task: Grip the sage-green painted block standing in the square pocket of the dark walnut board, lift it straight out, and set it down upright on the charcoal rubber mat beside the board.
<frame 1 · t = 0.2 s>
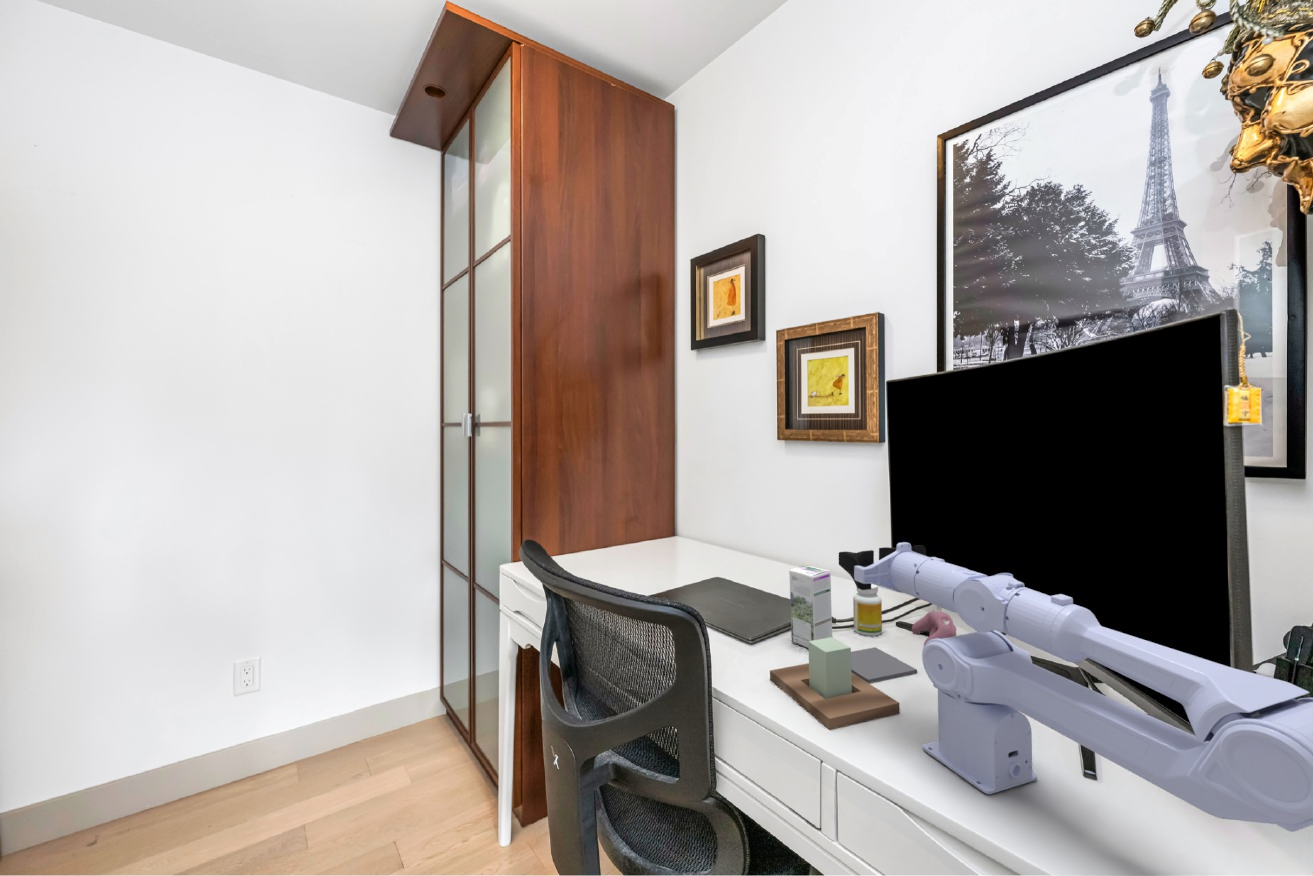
hand: (860, 556, 84), 21 cm above the table, tool horizontal, fingers open, 7 cm apart
charcoal mat: (872, 665, 93), on the table
syrup box: (811, 644, 103), on the table
video game controller: (934, 643, 102), on the table
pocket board: (830, 695, 83), on the table
sage block: (829, 669, 83), in the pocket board
supplement bottle: (867, 632, 108), on the table
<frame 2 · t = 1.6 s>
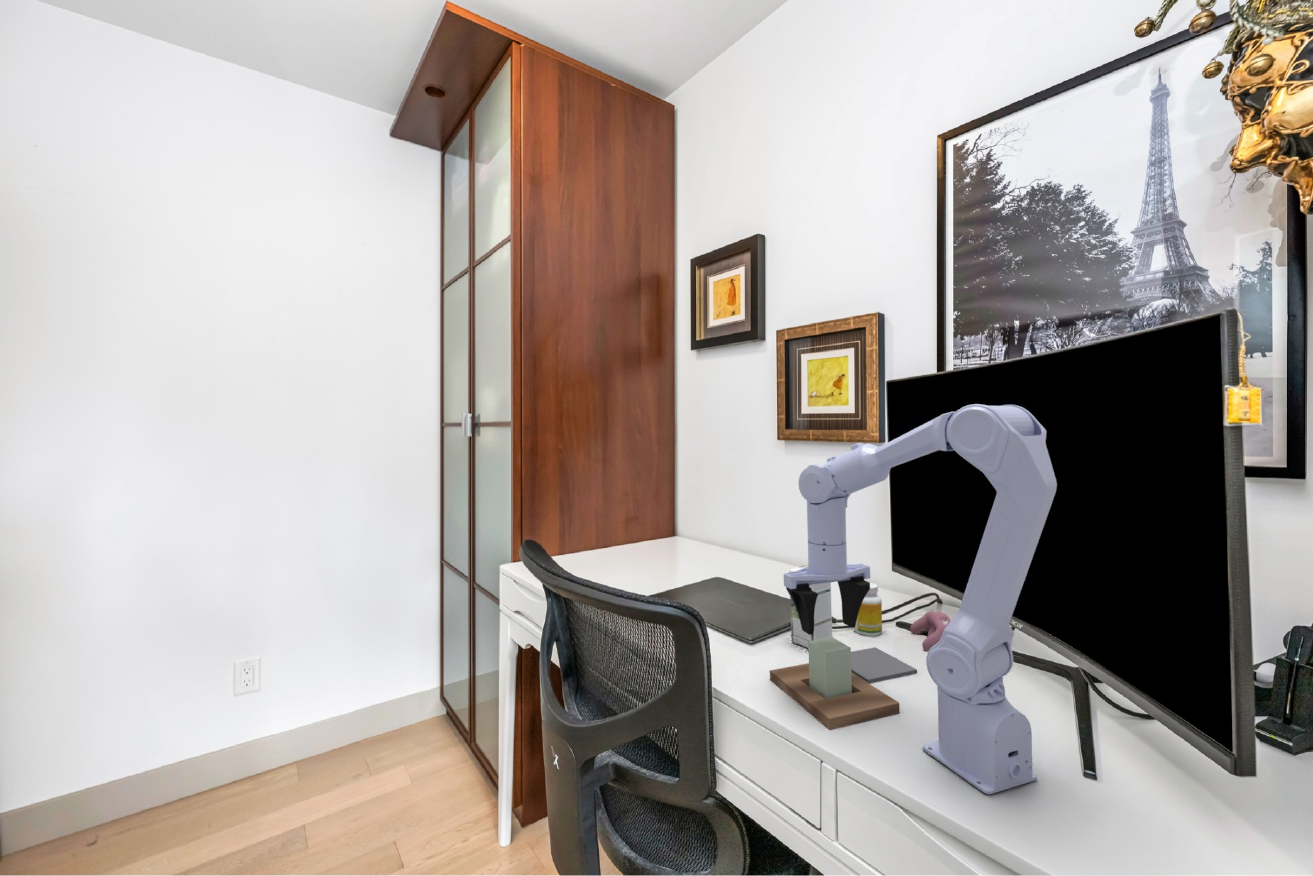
hand: (828, 628, 83), 10 cm above the table, tool pointing down, fingers open, 7 cm apart
nothing on the table moved.
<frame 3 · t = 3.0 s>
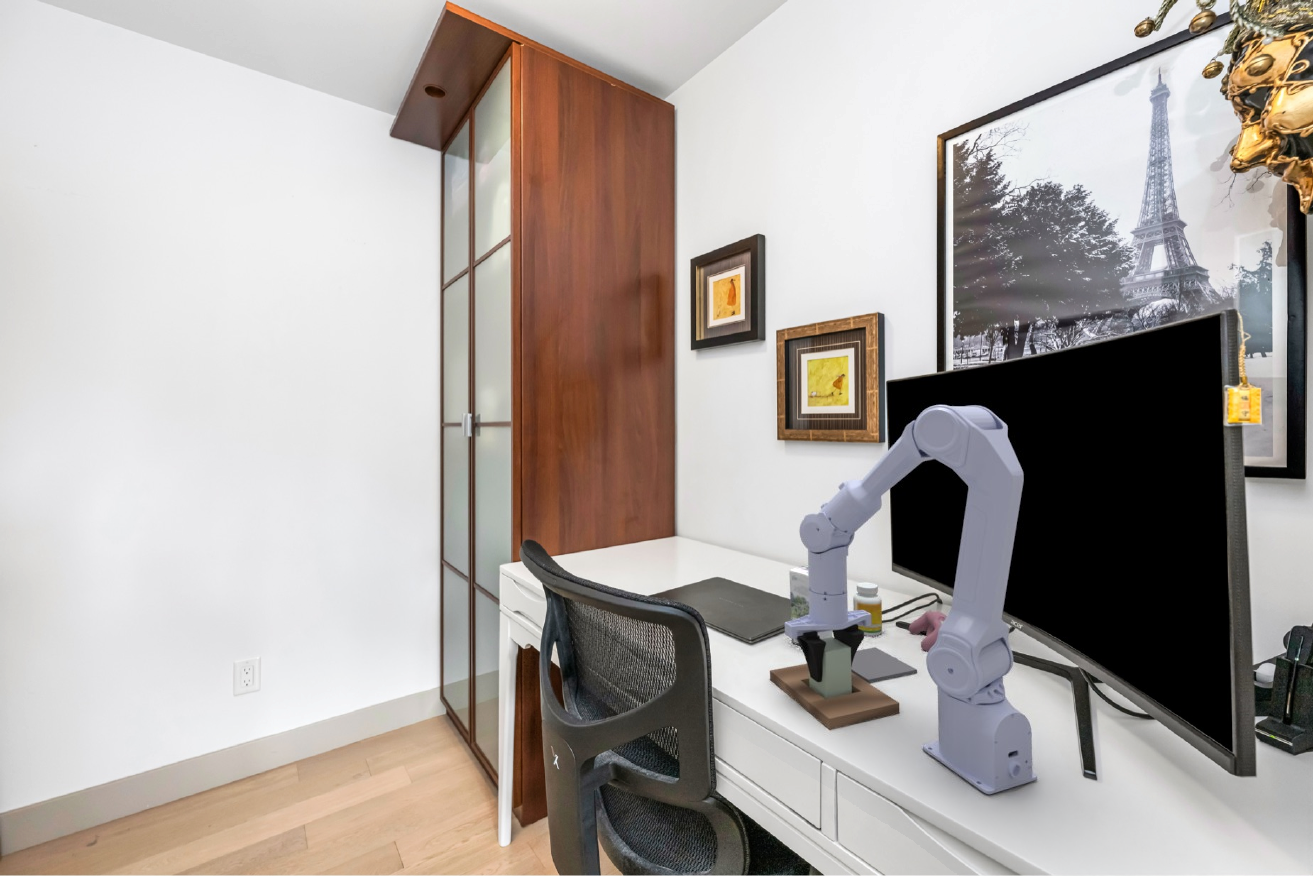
hand: (829, 676, 83), 3 cm above the table, tool pointing down, fingers closed on sage block, 4 cm apart
sage block: (829, 669, 83), in the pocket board, touching gripper
everything else where it was.
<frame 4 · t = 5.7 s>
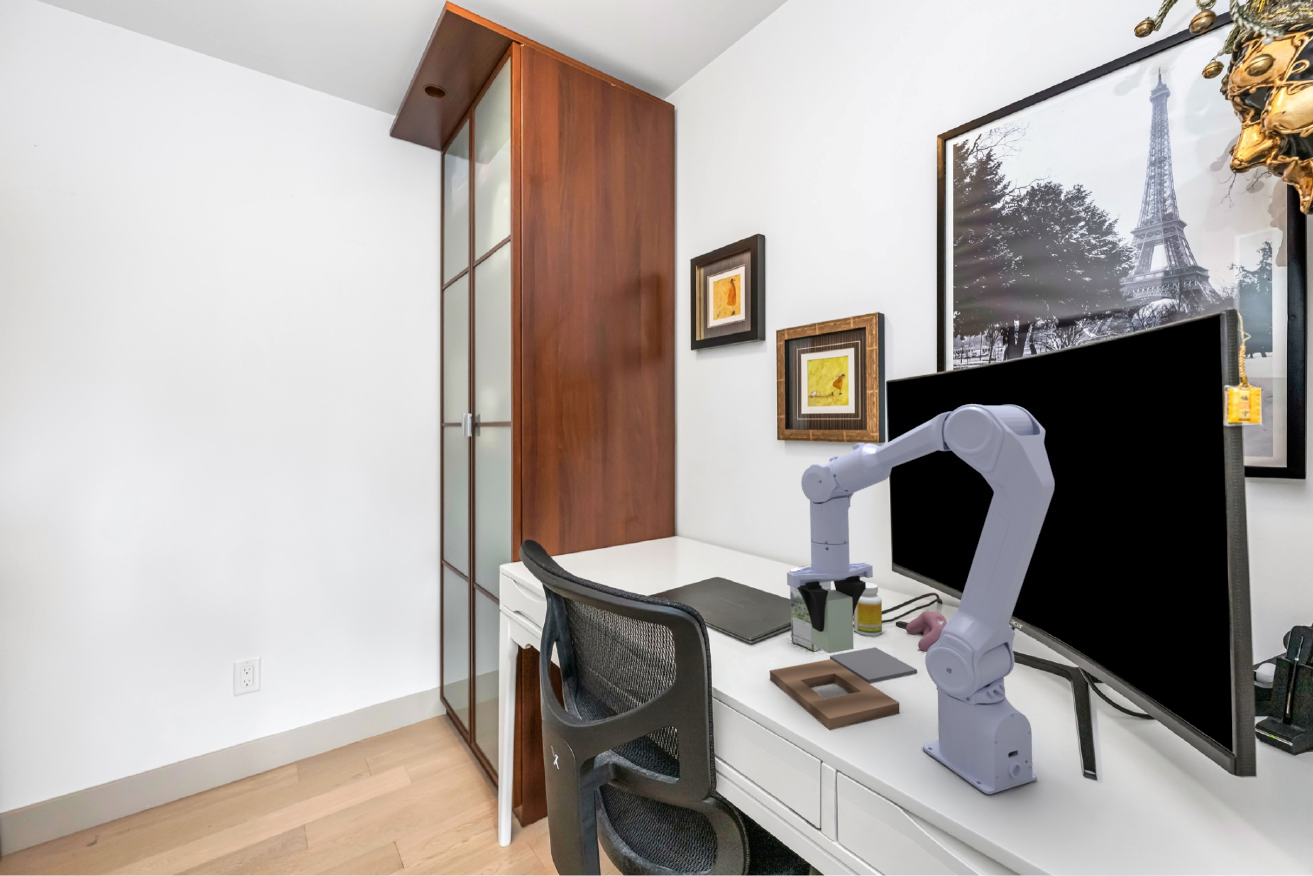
hand: (831, 627, 84), 10 cm above the table, tool pointing down, fingers closed on sage block, 4 cm apart
sage block: (831, 620, 83), point 12 cm above the table, touching gripper
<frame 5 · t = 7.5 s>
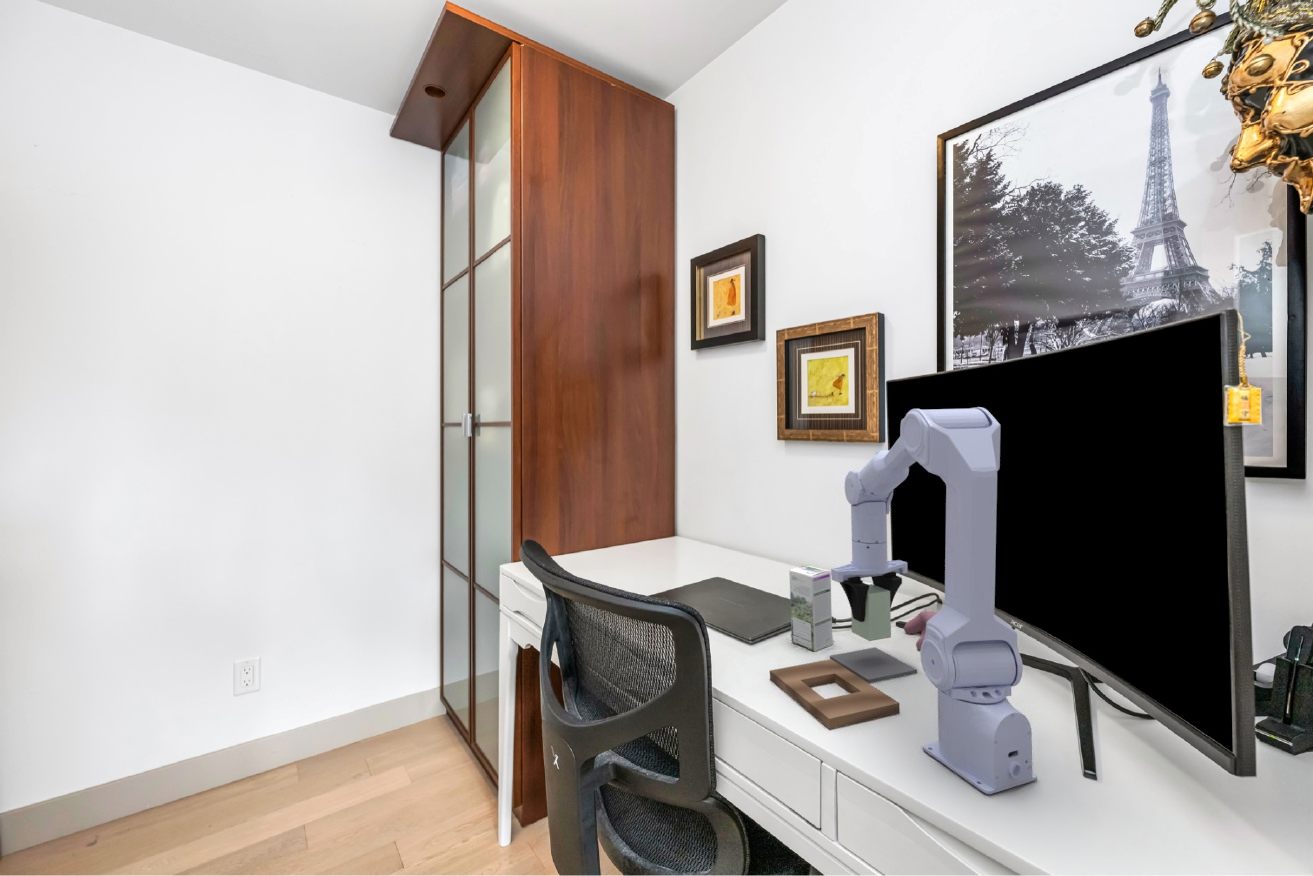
hand: (870, 618, 93), 8 cm above the table, tool pointing down, fingers closed on sage block, 4 cm apart
sage block: (870, 611, 93), point 9 cm above the table, touching gripper
when the fingers open (4 cm above the table, at t = 8.8 s): sage block stays where it is, resting on charcoal mat.
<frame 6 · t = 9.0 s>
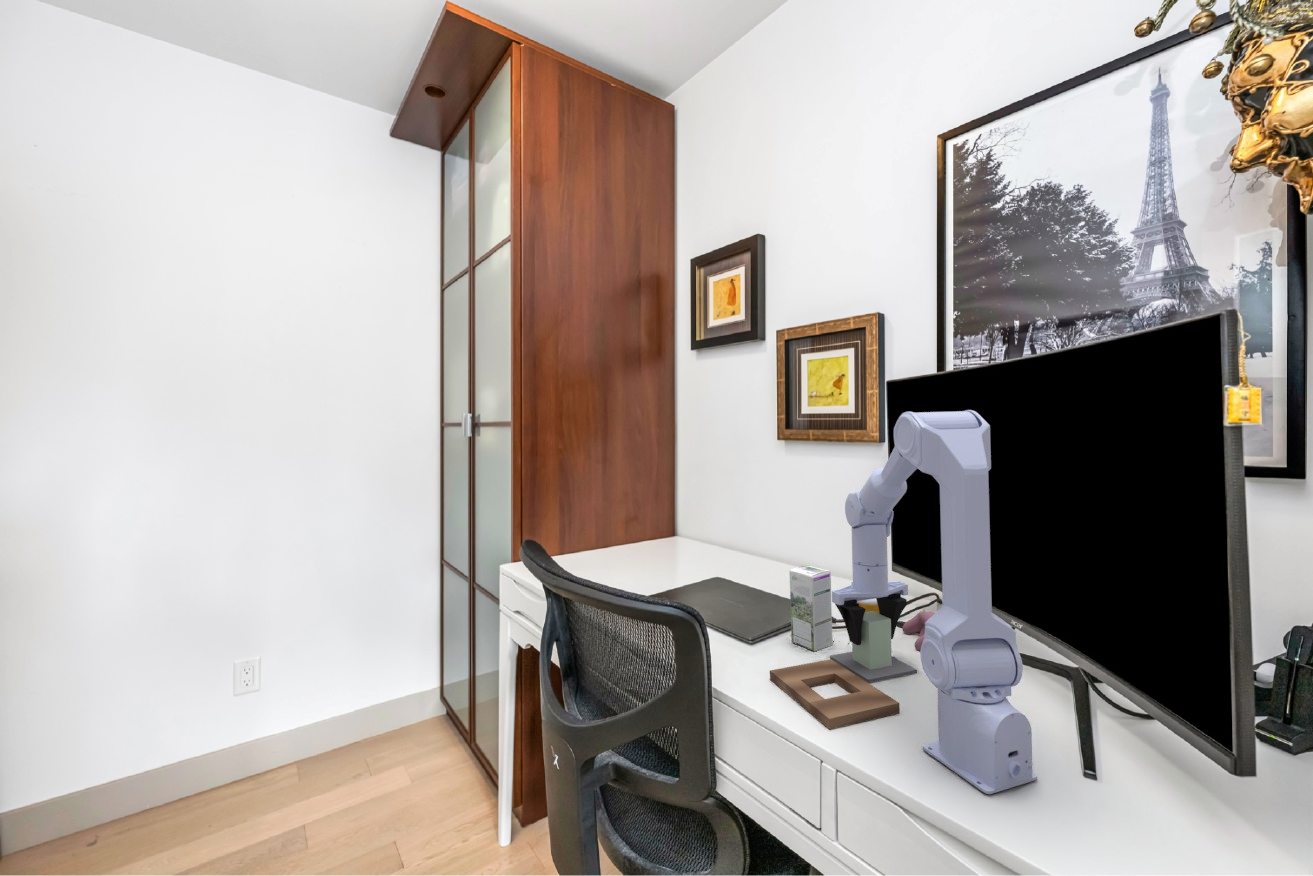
hand: (871, 640, 93), 5 cm above the table, tool pointing down, fingers open, 6 cm apart
sage block: (871, 639, 93), on the charcoal mat, point 5 cm above the table
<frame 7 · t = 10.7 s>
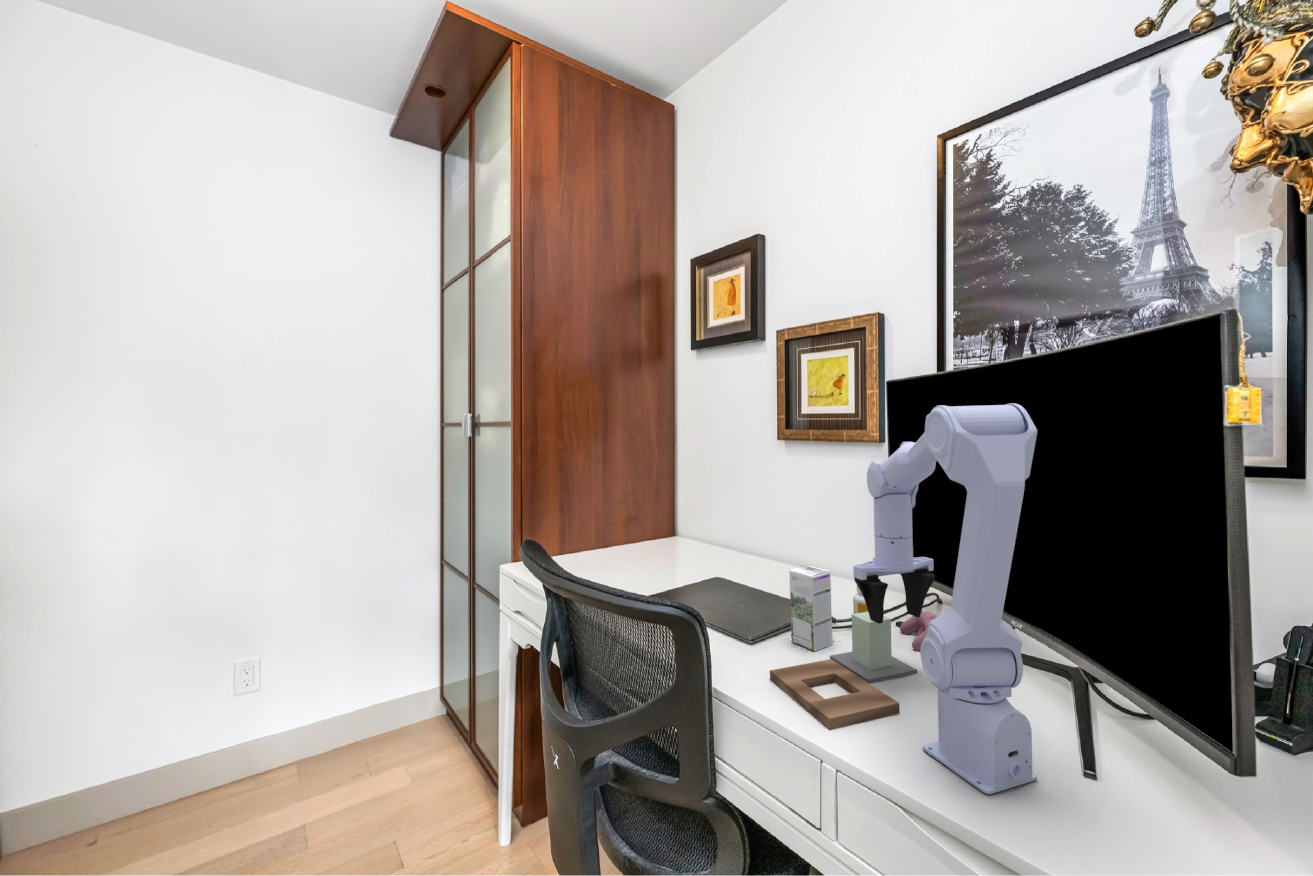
hand: (895, 618, 87), 10 cm above the table, tool pointing down, fingers open, 7 cm apart
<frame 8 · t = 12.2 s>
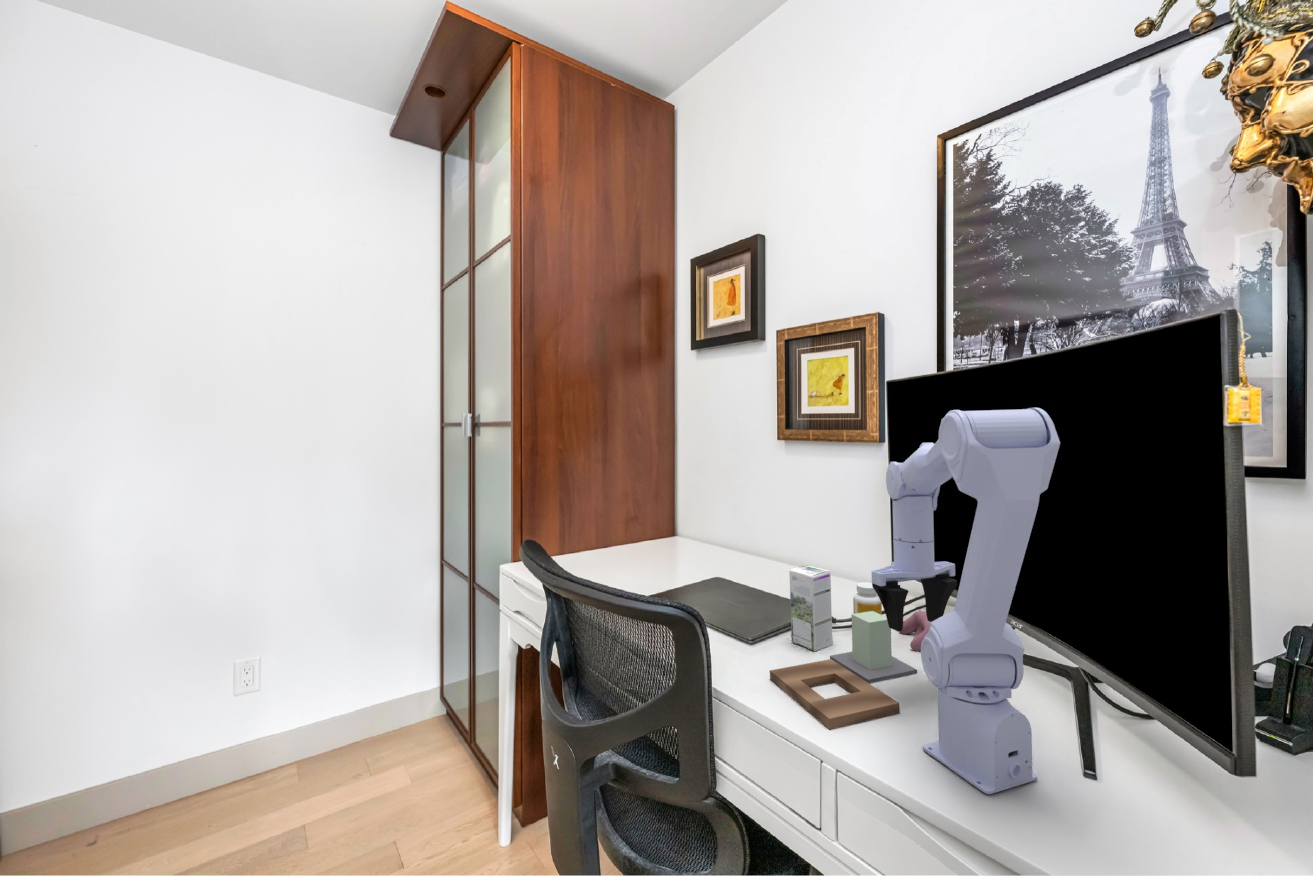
hand: (915, 625, 83), 10 cm above the table, tool pointing down, fingers open, 7 cm apart
at the end: sage block 0.0 cm off-centre on the charcoal mat, point 4.6 cm above the charcoal mat's base; sage block tilted 0°; the gripper is holding nothing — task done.
